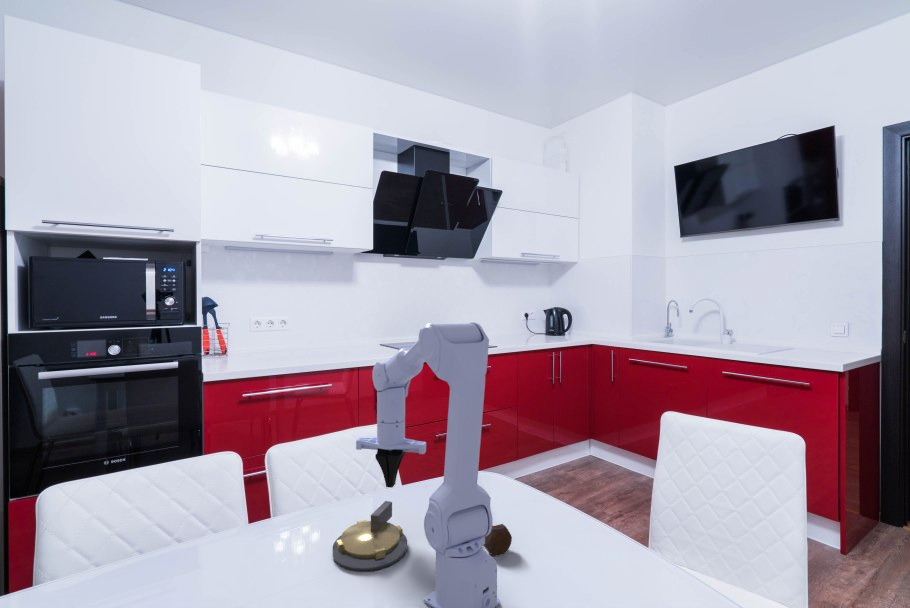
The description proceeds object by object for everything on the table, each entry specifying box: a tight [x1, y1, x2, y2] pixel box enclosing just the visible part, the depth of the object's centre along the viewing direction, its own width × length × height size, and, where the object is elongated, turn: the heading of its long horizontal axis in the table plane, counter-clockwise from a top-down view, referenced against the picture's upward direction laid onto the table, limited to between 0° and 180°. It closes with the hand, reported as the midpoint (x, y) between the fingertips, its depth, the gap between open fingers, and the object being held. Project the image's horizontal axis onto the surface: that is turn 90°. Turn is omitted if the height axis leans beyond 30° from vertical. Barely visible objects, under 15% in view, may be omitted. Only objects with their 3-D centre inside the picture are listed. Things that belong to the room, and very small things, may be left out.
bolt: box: [483, 523, 513, 557], centre depth 91 cm, size 6×5×15 cm
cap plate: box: [332, 533, 408, 573], centre depth 86 cm, size 14×14×1 cm
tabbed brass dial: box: [336, 500, 404, 560], centre depth 86 cm, size 12×12×4 cm
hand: (390, 485), depth 93 cm, fingers closed
